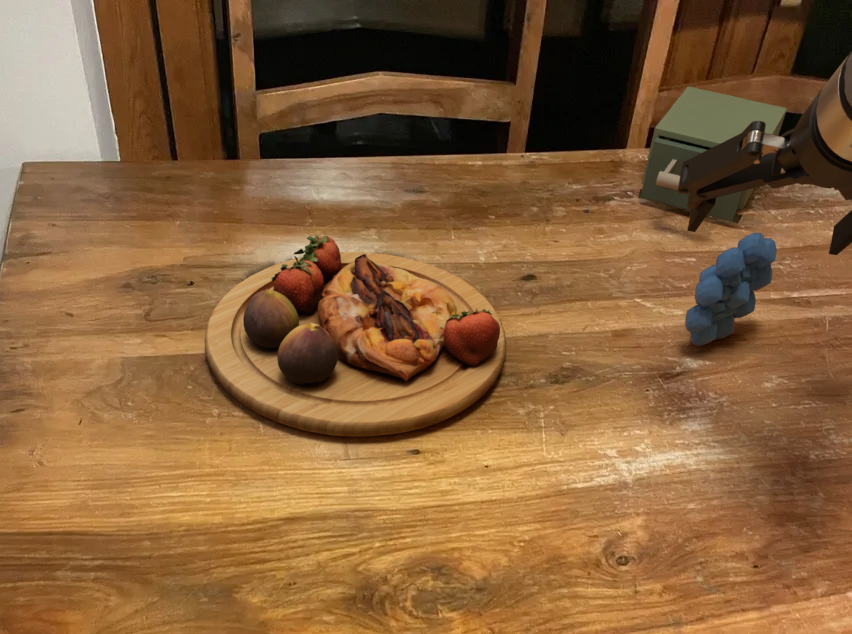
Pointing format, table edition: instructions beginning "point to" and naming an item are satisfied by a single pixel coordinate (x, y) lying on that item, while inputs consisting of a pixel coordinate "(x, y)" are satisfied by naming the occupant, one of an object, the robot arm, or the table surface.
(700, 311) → the grapes
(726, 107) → the cabinet
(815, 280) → the table surface
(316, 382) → the wooden plate
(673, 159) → the drawer
